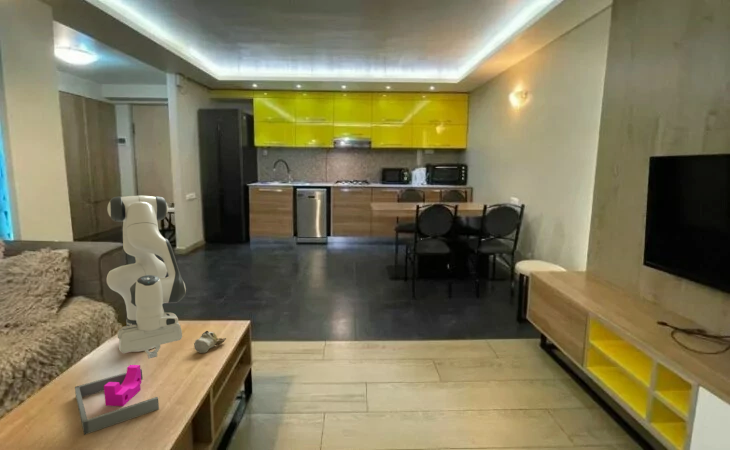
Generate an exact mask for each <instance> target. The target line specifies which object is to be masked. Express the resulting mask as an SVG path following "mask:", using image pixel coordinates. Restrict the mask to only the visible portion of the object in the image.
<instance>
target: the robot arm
mask: <svg viewBox="0 0 730 450" xmlns="http://www.w3.org/2000/svg"><path fill="white" fill-rule="evenodd" d="M168 205H169V204H168V203H167V200H166V199H165V197H162V196H158V195H155V196H152V195H151V196H150V195H142V194H141V195H128V196H122V195H120V196H114V197H112V198H111V199H110V200H109V202H108V204H107V208H106V209H107V214H108V216H109V217H110V219H111V220H112V221H113V222H116V223H117V222H119V223H122V222H123V224H122V242H123V243H122V245H123V247H122V249H123V251H124V252H125V253H126V254H127V255H129V256H131V257H134V259H135V263H133V262H132V263H129V264H126V265H125V264H124V265H120V266H118V267H115V268H113V269H111V270H110V271H108V273H107V276H106V284H107V286H108V288H109V289H110V290H111V291H114V292H115V293H117V294H119V295H120V296H121V297H122V298H123V300H124V304H125V308H126V309H125V310H126V320H125V322H126V325H124V326H122V327H121V328H119V329H118V331H117V339H118V340H119V341H118V343H119V344H118V349H119V352H120V353H121V354H127V353H132V352H133V353H135V352H139V353H140V352H145V353H146V354H147V359H148V360H149V359H153V358H157V357H158V352H159V351H160V349H161V345H166V344H169V343H173V342H177V341H178V342H179V341H181V340H182V338H183V331H182V327H181V324H180V323H179V318H178V316H177V315H176V314H175V313H173V312H166V311H165V310H164V307H163V304H174V303H175V304H177V303H179V302H180V301H181V300H182V299H184V297H185V296H186V292H187V291H186V290H187V288H186V283H185V282H184V280H183V278H182V275H181V272H180V269H179V265H178V263H177V259H176V256H175V253H174V251H173V248H172V247H173V246H172V245H171V243H170V240H169V239H168V238H166V237H164V236H163V235H162V234H161V232H160V230H159V223H158V222H159V221H161V220H164V219H165V218H166V217H167V214H168V212H169V207H168ZM157 256H159V257H160V259H161V260H160V259H159V258H158V257H157ZM162 260H163V261H162ZM167 275H168V276H167ZM166 276H167V277H166ZM152 349H154V350H153V351H150V350H152Z"/></svg>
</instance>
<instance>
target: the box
mask: <svg viewBox="0 0 730 450" xmlns="http://www.w3.org/2000/svg"><path fill="white" fill-rule="evenodd" d="M140 372H141V381H142V380H143V370H142V368H140ZM126 373H127V371H126V372H123V373H120V374H116V375H112V376H109V377H106V378H101V379H98V380H95V381H91V382H87V383H83V384H80V385H77V386H75V387H74V389H75V392H74V393H75V398H76V399H75V400H76V403H77V407H78V412H79V416H80V422H81V424H82V426H81V427H82V430H83V433H84V435H88V434H91V433H93V432H96V431H98V430H102V429H105V428H108V427H111V426H113V425H117V424H119V423H123V422H126V421H128V420H132V419H135V418H136V417H139V416H140V417H141V416H142V415H145V414H146V415H147V414H149V413H151V412H154V411H158V410H160V404H159V397H158V396H155V397H151V398H149V399H147V400H143V401H139V402H137V403H134V404H131V405H128V406H125V407H124V406H123V407H122V408H119V409H115V410H112V411H109V412H106V413H103V414H101V415H97V416H94V417H91V418H88V417H87V413H86V408H85V404H84V400H83V397H87V396H90V395H93V394H97V393H101V392H104V385H106V384H107V383H108V382H119V383H120V385H121V384H122V383H123V381H124V379H125V377H126Z"/></svg>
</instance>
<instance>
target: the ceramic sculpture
mask: <svg viewBox="0 0 730 450" xmlns="http://www.w3.org/2000/svg"><path fill="white" fill-rule="evenodd" d="M226 340H227V338H226V337H225V338H222V337H219V338H218V337H217V334H216V333H215V332H213V331H208V330H206V331H204V332H203V333H202V334H201V335H200V337H199V338H197V339H195V341H194V342H193V347H194V350H195V351H196V352H198V353H200V354H205V353H207V352H208V351H209V349H212V348H214V347H215V346H219V345H222V344H223V343H224V342H225V341H226Z"/></svg>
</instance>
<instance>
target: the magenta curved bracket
mask: <svg viewBox="0 0 730 450" xmlns="http://www.w3.org/2000/svg"><path fill="white" fill-rule="evenodd" d="M140 369H141V365H140V364H129V365H128V366H126V372H127V373H126V372H125V373H126V377H125V379H124V381H123V383H122V384H121V385H120V383H119V382H108V383H107V384H106V385H104V391H103V393H104V400H105V401H104V402H105V403H104V404H105V406H108V407H109V406H111V407H124V406H125V405H127V403H128V402H129V401H130V400H131V399H133V397H135V396H136V395H137V394H139V392H140V391H142V388H141V384H142V380H141V372H140Z"/></svg>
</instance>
